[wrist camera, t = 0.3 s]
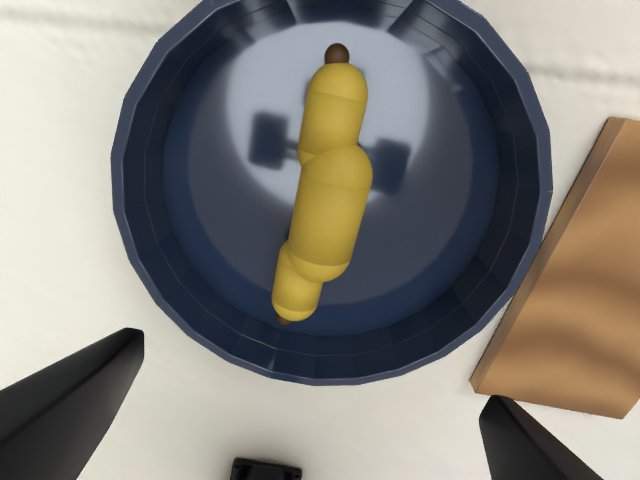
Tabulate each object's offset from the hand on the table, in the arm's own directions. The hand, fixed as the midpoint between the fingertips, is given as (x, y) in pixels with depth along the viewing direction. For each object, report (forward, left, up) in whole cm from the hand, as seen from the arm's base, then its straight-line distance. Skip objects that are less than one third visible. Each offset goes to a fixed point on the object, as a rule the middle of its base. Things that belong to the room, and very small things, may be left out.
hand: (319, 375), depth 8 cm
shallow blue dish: (0, 0, -14) cm, 14 cm away
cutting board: (-2, -20, -14) cm, 24 cm away
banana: (0, 0, -13) cm, 13 cm away
